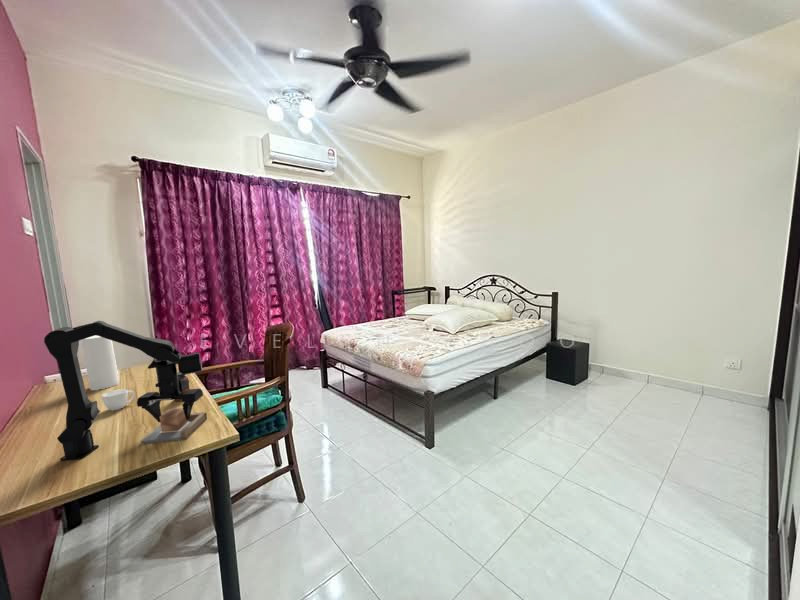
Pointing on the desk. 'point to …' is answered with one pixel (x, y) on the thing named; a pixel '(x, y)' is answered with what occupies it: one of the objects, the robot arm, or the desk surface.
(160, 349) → the robot arm
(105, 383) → the tall pillar cylinder
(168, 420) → the cube
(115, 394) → the cup
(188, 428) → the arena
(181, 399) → the supplement bottle
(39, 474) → the desk surface
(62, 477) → the desk surface
